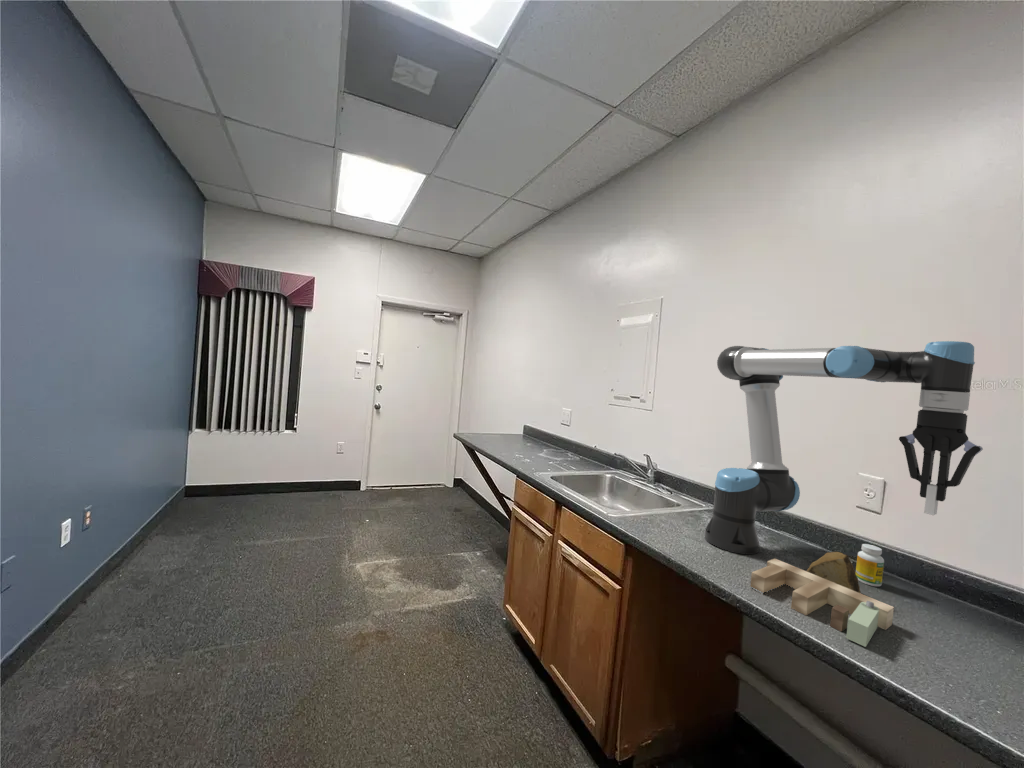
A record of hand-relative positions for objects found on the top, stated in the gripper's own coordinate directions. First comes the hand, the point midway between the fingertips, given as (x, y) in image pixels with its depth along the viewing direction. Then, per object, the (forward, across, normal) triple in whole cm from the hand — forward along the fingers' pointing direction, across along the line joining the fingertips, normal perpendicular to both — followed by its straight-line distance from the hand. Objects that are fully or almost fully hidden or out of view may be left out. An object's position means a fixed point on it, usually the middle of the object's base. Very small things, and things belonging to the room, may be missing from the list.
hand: (930, 513), depth 89 cm
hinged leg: (+24, -4, -21) cm, 32 cm away
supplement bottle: (+25, -12, +11) cm, 30 cm away
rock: (+25, -16, -2) cm, 30 cm away
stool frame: (+24, -14, -18) cm, 33 cm away
